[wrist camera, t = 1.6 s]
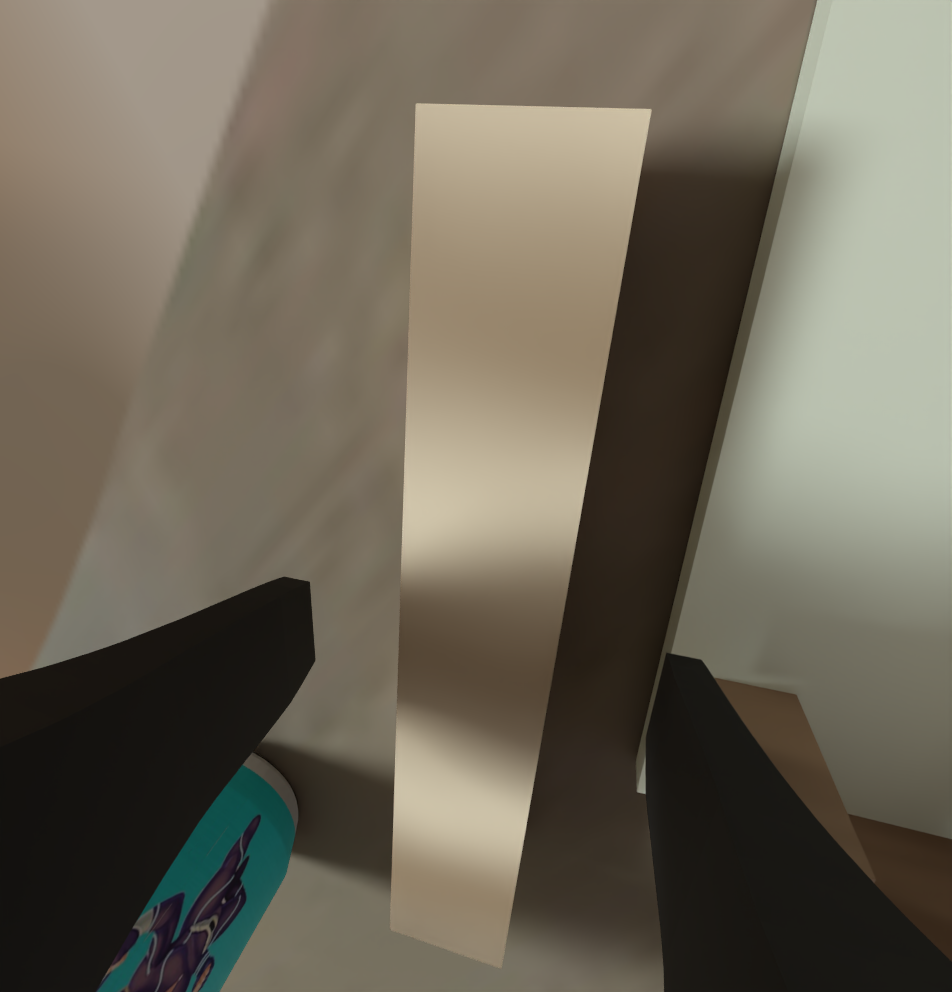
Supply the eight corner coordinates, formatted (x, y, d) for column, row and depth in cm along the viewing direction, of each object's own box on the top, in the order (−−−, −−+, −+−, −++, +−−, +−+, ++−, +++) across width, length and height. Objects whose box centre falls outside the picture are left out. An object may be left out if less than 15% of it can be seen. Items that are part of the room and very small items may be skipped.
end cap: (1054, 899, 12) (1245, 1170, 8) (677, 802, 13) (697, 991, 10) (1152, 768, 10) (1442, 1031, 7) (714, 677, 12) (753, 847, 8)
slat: (526, 823, 17) (501, 969, 13) (437, 797, 17) (389, 929, 14) (639, 173, 10) (651, 108, 6) (485, 166, 11) (415, 103, 7)
